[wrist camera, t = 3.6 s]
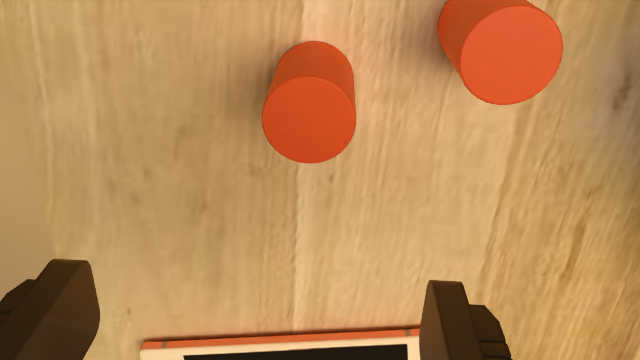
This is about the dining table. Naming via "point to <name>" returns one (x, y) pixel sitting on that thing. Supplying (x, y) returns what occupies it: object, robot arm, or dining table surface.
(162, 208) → the dining table surface
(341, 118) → the red orange cylinder
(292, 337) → the cell phone
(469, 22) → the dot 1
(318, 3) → the dining table surface
